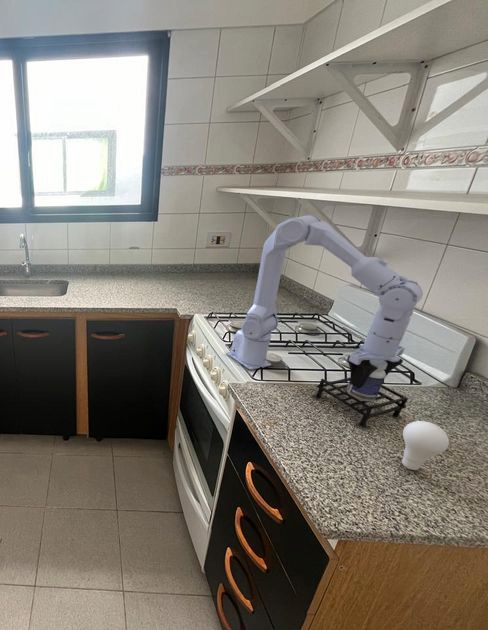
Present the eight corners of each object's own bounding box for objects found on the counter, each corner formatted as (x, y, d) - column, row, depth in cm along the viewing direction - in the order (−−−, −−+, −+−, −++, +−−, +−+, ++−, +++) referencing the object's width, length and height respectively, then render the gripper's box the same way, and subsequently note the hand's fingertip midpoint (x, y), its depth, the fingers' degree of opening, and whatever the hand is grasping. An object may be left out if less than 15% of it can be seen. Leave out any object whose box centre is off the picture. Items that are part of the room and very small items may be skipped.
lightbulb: (388, 451, 73) (408, 410, 68) (427, 466, 69) (452, 423, 65) (388, 469, 69) (410, 426, 64) (431, 486, 65) (457, 442, 61)
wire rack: (313, 395, 90) (319, 378, 88) (348, 387, 93) (354, 370, 91) (363, 428, 79) (372, 409, 77) (400, 417, 82) (410, 398, 80)
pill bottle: (381, 402, 82) (397, 367, 78) (357, 402, 82) (371, 367, 78) (363, 388, 87) (377, 354, 83) (340, 387, 87) (353, 354, 83)
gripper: (381, 346, 72) (359, 399, 78) (428, 337, 76) (404, 387, 82) (348, 332, 79) (330, 381, 84) (393, 323, 82) (372, 371, 88)
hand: (364, 383), depth 83 cm, fingers closed on pill bottle, 5 cm apart
